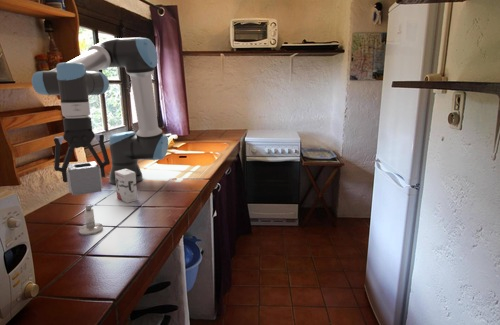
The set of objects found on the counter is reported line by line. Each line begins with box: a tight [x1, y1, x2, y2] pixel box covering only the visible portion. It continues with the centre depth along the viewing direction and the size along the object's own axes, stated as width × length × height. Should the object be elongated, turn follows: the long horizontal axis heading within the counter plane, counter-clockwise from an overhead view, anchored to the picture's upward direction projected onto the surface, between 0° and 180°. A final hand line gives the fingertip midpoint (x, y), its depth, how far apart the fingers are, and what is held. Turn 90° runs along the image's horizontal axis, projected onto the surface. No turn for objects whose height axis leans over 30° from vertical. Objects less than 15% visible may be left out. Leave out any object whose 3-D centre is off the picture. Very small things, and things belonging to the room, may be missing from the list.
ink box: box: [115, 169, 138, 204], centre depth 137 cm, size 9×5×12 cm, turn 47°
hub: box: [78, 204, 104, 236], centre depth 109 cm, size 7×7×8 cm
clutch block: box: [67, 160, 102, 197], centre depth 106 cm, size 8×8×8 cm
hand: (85, 189), depth 107 cm, fingers closed on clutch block, 8 cm apart
